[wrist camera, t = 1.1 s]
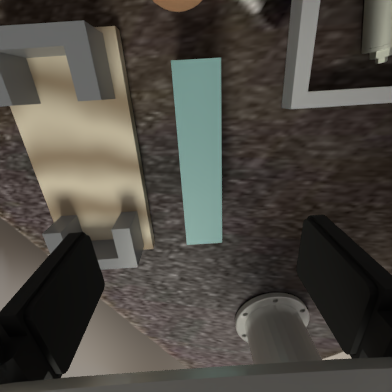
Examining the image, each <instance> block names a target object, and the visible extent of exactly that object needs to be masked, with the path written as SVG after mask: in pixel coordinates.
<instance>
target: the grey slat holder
mask: <svg viewBox="0 0 392 392" xmlns="http://www.w3.org/2000/svg"><path fill="white" fill-rule="evenodd" d="M65 55H66V57H67V61H68V65H69V69H70V73H71V76H72V80H73V84H74V88H75V92H76V96H77V100H78V101H92V100H107V99H115V94H114V89H113V83H112V78H111V73H110V68H109V63H108V58H107V52H106V47H105V42H104V37H103V33H101V32H100V31H99V30H97V29H96V28H94V27H93V26H91V25H90V24H88V23H87V22H86V21H84V20H82V21H67V22H52V23H37V24H22V25H6V26H0V106H15V105H30V104H41V102H40V99H39V96H38V93H37V90H36V87H35V83H34V80H33V77H32V74H31V71H30V68H29V65H28V62H27V59H26V58H34V57H50V56H65ZM111 231H112V235H113V239H109V240H94V241H92V244H93V247H94V251H95V254H96V257H97V260H98V263H99V266H100V269H101V270H102V269H118V268H133V267H138V265H139V261H140V258H141V255H142V251H143V248H144V244H143V239H142V234H141V229H140V223H139V218H138V213H137V211H131V212H121V214H120V215H119V217H118V219H117V220H116V222H115V224H114V226H113V227H112V229H111ZM77 232H82V229H81V225H80V222H79V219H78V216H77V215H69V216H61V217H60V218H59V219H58V220H57V221H55V222H54V223H53V224H52V225H51V226H50V227H49V228H48V229H47V230H46V231H45V232H44V233H43V234H42V235H43V237H44V240H45V242H46V244H47V247H48V249H49V252H50V254H51V253H52V252H53V251H54V249H55V248H56V247H57V246H58V245H59V244H60V243H61V241H62V240H63V239H64V238H65V237H66V236H67V235H68V234H69V233H77Z"/></svg>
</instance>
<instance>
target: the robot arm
mask: <svg viewBox="0 0 392 392" xmlns="http://www.w3.org/2000/svg"><path fill="white" fill-rule="evenodd" d="M297 274H298V276H299V278H300V279H301V281H302V283H303V284H304V286H305V288H306V289H307V291H308V293H309V294H310V296H311V298H312V300H313V301H314V303H315V305H316V306H317V308H318V310H319V311H320V313H321V315H322V316H323V318H324V320H325V321H326V323H327V325H328V326H329V328H330V330H331V331H332V333H333V335H334V336H335V338H336V340H337V341H338V343H339V345H340V346H341V348H342V350H343V351H344V352H345V353H346V354H350V356H351V357H352V359H334V360H322V359H321V357H320V355H319V353H318V351H317V349H316V347H315V345H314V343H313V341H312V339H311V337H310V335H309V333H308V331H307V329H306V327H307V325H308V322H309V312H308V310H307V308H306V306H305V304H304V303H303V302H302V301H301V300H300V299H299V298H297V297H295V296H293V295H290V294H287V293H267V294H263V295H260V296H257V297H255V298H253V299H251V300H249V301H248V302H246V303H245V304H244V305H243V306H242V307H241V308H240V309H239V311H238V312H237V314H236V317H235V326H236V330H237V333H238V334H239V336H240V337H241V338H242V339H243V340H245V341H246V342H248V343H249V347H250V351H251V355H252V360H253V365H238V366H223V367H208V368H193V369H180V370H165V371H150V372H137V373H124V374H109V375H96V376H82V377H69V378H61V376H62V374H64V373H66V372H67V371H68V369H69V367H70V364H71V362H72V360H73V358H74V355H75V353H76V351H77V349H78V346H79V344H80V342H81V339H82V337H83V335H84V333H85V331H86V328H87V326H88V323H89V321H90V319H91V317H92V315H93V312H94V310H95V308H96V306H97V303H98V301H99V299H100V297H101V294H102V292H103V290H104V285H105V283H104V279H103V275H102V272H101V269H100V266H99V263H98V260H97V257H96V254H95V251H94V247H93V244H92V241H91V238H90V236H89V235H86V234H85V233H84V232H77V233H69V234H68V235H67V236H66V237H65V238H64V239H63V240H62V241H61V243H60V244H59V245H58V246H57V247H56V248H55V249H54V251H53V252H52V253H51V254H50V255H49V256H48V257H47V259H46V260H45V261H44V262H43V263H42V264H41V265H40V267H39V268H38V269H37V270H36V271H35V272H34V274H33V275H32V276H31V277H30V278H29V279H28V280H27V282H26V283H25V284H24V285H23V286H22V287H21V288H20V290H19V291H18V292H17V293H16V294H15V295H14V296H13V298H12V299H11V300H10V301H9V302H8V303H7V305H6V306H5V307H4V308H3V309H2V310H1V311H0V392H392V275H391V274H390V273H389V272H388V271H386V270H385V269H384V268H383V267H382V266H381V265H380V264H379V263H378V262H376V261H375V260H374V259H373V258H372V257H371V256H370V255H369V254H368V253H366V252H365V251H364V250H363V249H362V248H361V247H360V246H359V245H357V244H356V243H355V242H354V241H353V240H352V239H351V238H350V237H349V236H347V235H346V234H345V233H344V232H343V231H342V230H341V229H340V228H339V227H337V226H336V225H335V224H334V223H333V222H332V221H331V220H330V219H328V218H327V217H326V216H325V215H312V216H308V218H307V219H305V220H304V222H303V229H302V235H301V242H300V248H299V255H298V261H297Z"/></svg>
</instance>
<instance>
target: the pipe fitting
mask: <svg viewBox="0 0 392 392" xmlns="http://www.w3.org/2000/svg"><path fill="white" fill-rule="evenodd" d="M367 53H369V59H370V60H373V59H375V64H379V63H384V62H386V61H387V60H388V56H390V55H392V0H364V17H363V33H362V49H361V54H367Z"/></svg>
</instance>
